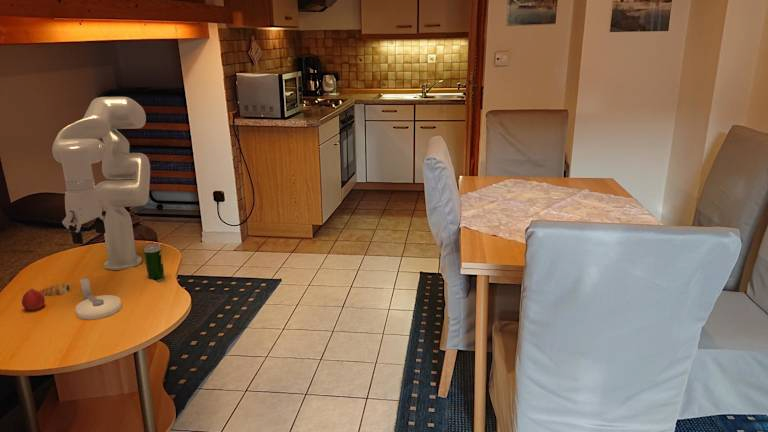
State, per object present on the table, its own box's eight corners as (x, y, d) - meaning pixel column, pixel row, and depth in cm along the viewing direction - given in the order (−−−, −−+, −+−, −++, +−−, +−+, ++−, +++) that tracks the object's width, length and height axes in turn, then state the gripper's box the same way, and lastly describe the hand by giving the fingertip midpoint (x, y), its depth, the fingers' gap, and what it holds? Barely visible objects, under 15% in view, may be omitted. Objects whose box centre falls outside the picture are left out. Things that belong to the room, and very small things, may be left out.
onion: (23, 317, 162) (18, 293, 159) (25, 309, 166) (20, 286, 164) (46, 313, 164) (41, 289, 162) (47, 305, 169) (42, 282, 166)
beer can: (150, 283, 184) (145, 250, 181) (146, 278, 189) (142, 246, 185) (166, 280, 187) (162, 247, 184) (163, 274, 192) (158, 243, 188)
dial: (127, 309, 164) (124, 288, 162) (85, 323, 156) (81, 301, 153) (106, 292, 175) (103, 272, 173) (65, 305, 166) (61, 284, 164)
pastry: (35, 302, 171) (32, 291, 170) (40, 294, 177) (37, 283, 176) (68, 298, 174) (66, 287, 173) (72, 289, 180) (70, 279, 179)
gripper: (90, 177, 172) (99, 228, 178) (46, 191, 156) (57, 247, 162) (111, 178, 171) (119, 229, 176) (69, 193, 155) (79, 249, 160)
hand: (89, 238), depth 169 cm, fingers open, 9 cm apart
